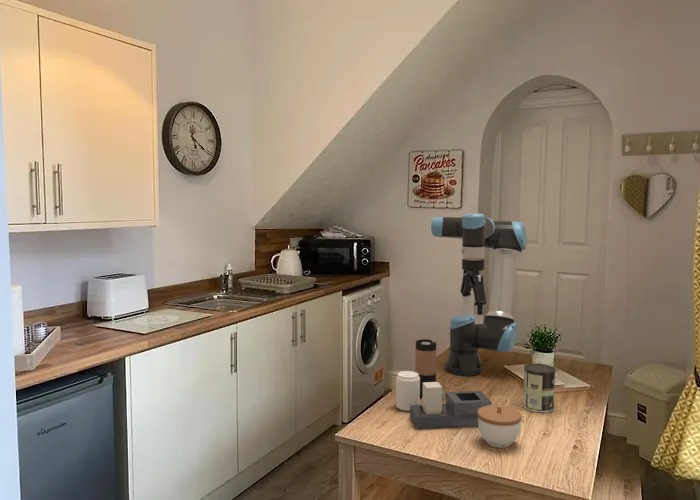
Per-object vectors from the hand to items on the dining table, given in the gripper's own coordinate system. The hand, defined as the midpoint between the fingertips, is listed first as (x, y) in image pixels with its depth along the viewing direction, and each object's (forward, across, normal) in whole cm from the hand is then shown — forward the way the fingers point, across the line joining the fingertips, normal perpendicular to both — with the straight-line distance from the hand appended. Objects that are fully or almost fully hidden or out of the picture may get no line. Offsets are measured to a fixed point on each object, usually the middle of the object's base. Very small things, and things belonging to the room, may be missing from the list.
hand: (472, 318), depth 193 cm
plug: (+28, +16, -18) cm, 37 cm away
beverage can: (+30, +3, -24) cm, 38 cm away
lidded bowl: (+30, +32, -2) cm, 44 cm away
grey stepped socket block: (+30, +16, -12) cm, 36 cm away
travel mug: (+30, -8, -15) cm, 35 cm away
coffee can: (+31, +8, +22) cm, 38 cm away
